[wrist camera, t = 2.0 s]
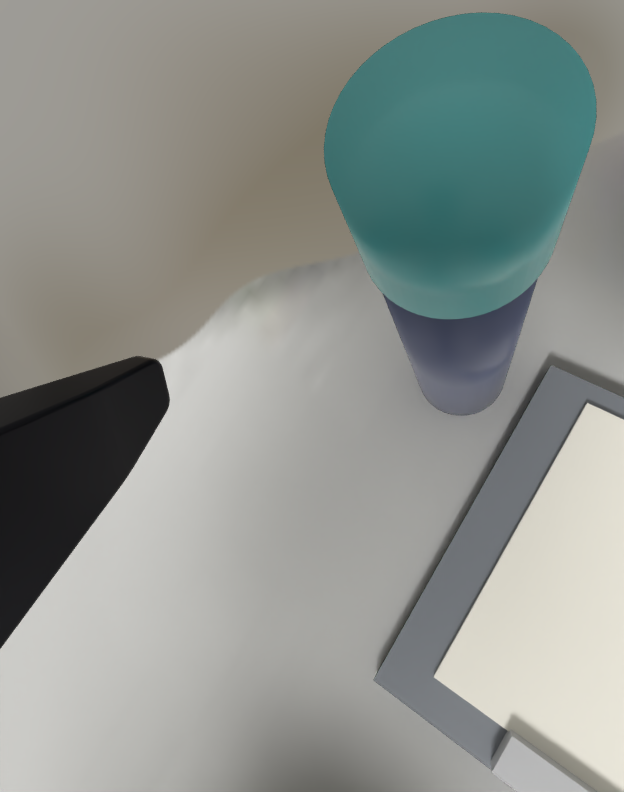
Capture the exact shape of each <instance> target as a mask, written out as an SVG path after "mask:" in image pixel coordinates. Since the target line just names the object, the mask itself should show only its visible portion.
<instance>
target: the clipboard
mask: <svg viewBox="0 0 624 792" xmlns="http://www.w3.org/2000/svg"><path fill="white" fill-rule="evenodd" d="M374 681H375V682H376V683H378V684H379V685H380V686H382V687H383V688H384V689H386V690H387V691H388V692H389V693H391V694H392V695H393V696H395V697H396V698H397V699H399V700H400V701H401V702H403V703H404V704H405V705H407V706H408V707H409V708H410V709H412V710H413V711H414V712H416V713H417V714H418V715H420V716H421V717H422V718H424V719H425V720H426V721H428V722H429V723H430V724H431V725H433V726H434V727H435V728H437V729H438V730H439V731H441V732H442V733H443V734H445V735H446V736H447V737H449V738H450V739H451V740H453V741H454V742H455V743H456V744H458V745H459V746H460V747H462V748H463V749H464V750H466V751H467V752H468V753H470V754H471V755H472V756H474V757H475V758H476V759H477V760H479V761H480V762H481V763H483V764H484V765H485V766H487V767H488V768H489V769H491V771H492V773H493V774H494V775H495V776H497V777H498V778H499V779H500V780H502V781H503V782H504V783H506V784H507V785H508V786H510V787H511V788H512V789H514V790H515V791H516V792H624V397H621V396H619V395H617V394H615V393H612V392H610V391H608V390H606V389H604V388H601V387H599V386H597V385H595V384H592V383H590V382H588V381H586V380H584V379H581V378H579V377H577V376H575V375H572V374H570V373H568V372H566V371H564V370H561V369H559V368H557V367H555V366H552V365H551V366H550V368H549V369H548V371H547V373H546V375H545V376H544V378H543V380H542V382H541V383H540V385H539V387H538V389H537V391H536V392H535V394H534V396H533V398H532V399H531V401H530V403H529V405H528V407H527V408H526V410H525V412H524V414H523V415H522V417H521V419H520V421H519V422H518V424H517V426H516V428H515V430H514V431H513V433H512V435H511V437H510V438H509V440H508V442H507V444H506V446H505V447H504V449H503V451H502V453H501V454H500V456H499V458H498V460H497V461H496V463H495V465H494V467H493V469H492V470H491V472H490V474H489V476H488V477H487V479H486V481H485V483H484V485H483V486H482V488H481V490H480V492H479V493H478V495H477V497H476V499H475V500H474V502H473V504H472V506H471V508H470V509H469V511H468V513H467V515H466V516H465V518H464V520H463V522H462V524H461V525H460V527H459V529H458V531H457V532H456V534H455V536H454V538H453V540H452V541H451V543H450V545H449V547H448V548H447V550H446V552H445V554H444V555H443V557H442V559H441V561H440V563H439V564H438V566H437V568H436V570H435V571H434V573H433V575H432V577H431V579H430V580H429V582H428V584H427V586H426V587H425V589H424V591H423V593H422V594H421V596H420V598H419V600H418V602H417V603H416V605H415V607H414V609H413V610H412V612H411V614H410V616H409V618H408V619H407V621H406V623H405V625H404V626H403V628H402V630H401V632H400V634H399V635H398V637H397V639H396V641H395V642H394V644H393V646H392V648H391V649H390V651H389V653H388V655H387V657H386V658H385V660H384V662H383V664H382V665H381V667H380V669H379V671H378V673H377V674H376V676H375V678H374Z"/></svg>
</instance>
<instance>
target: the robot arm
mask: <svg viewBox="0 0 624 792" xmlns="http://www.w3.org/2000/svg"><path fill="white" fill-rule="evenodd" d="M169 402H170V397H169V392H168V388H167V384H166V380H165V376H164V372H163V368H162V365H161V364H160V362H159V361H158V360H156V359H152V358H147V357H142V356H135V357H131V358H128V359H125V360H122V361H118V362H115V363H112V364H108V365H105V366H102V367H99V368H96V369H92V370H89V371H86V372H83V373H79V374H76V375H73V376H70V377H66V378H63V379H60V380H57V381H53V382H50V383H47V384H44V385H40V386H37V387H34V388H31V389H27V390H24V391H21V392H18V393H15V394H11V395H8V396H5V397H2V398H0V649H1V647H2V646H3V645H4V643H5V642H6V641H7V639H8V638H9V636H10V635H11V634H12V632H13V631H14V630H15V628H16V627H17V626H18V624H19V623H20V622H21V620H22V619H23V618H24V616H25V615H26V614H27V612H28V611H29V609H30V608H31V607H32V605H33V604H34V603H35V601H36V600H37V599H38V597H39V596H40V595H41V593H42V592H43V591H44V589H45V588H46V586H47V585H48V584H49V582H50V581H51V580H52V578H53V577H54V576H55V574H56V573H57V572H58V570H59V569H60V568H61V566H62V565H63V564H64V562H65V561H66V559H67V558H68V557H69V555H70V554H71V553H72V551H73V550H74V549H75V547H76V546H77V545H78V543H79V542H80V541H81V539H82V538H83V536H84V535H85V534H86V532H87V531H88V530H89V528H90V527H91V526H92V524H93V523H94V522H95V520H96V519H97V518H98V516H99V515H100V514H101V512H102V511H103V509H104V508H105V507H106V505H107V504H108V503H109V501H110V500H111V499H112V497H113V496H114V495H115V493H116V492H117V491H118V489H119V488H120V486H121V485H122V484H123V482H124V481H125V479H126V478H127V477H128V475H129V473H130V472H131V470H132V469H133V467H134V465H135V464H136V462H137V460H138V459H139V457H140V455H141V454H142V452H143V450H144V449H145V447H146V445H147V444H148V442H149V440H150V439H151V437H152V435H153V434H154V432H155V430H156V429H157V427H158V425H159V423H160V422H161V420H162V418H163V417H164V415H165V413H166V412H167V410H168V407H169Z"/></svg>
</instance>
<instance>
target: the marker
mask: <svg viewBox="0 0 624 792" xmlns="http://www.w3.org/2000/svg"><path fill="white" fill-rule="evenodd" d="M595 123H596V96H595V91H594V86H593V82H592V80H591V77H590V74H589V72H588V69H587V68H586V66H585V64H584V63H583V61H582V59H581V58H580V56H579V55H578V54H577V52H576V51H575V50H574V49H573V48H572V47H571V45H570V44H569V43H567V42H566V41H565V40H564V39H563V38H561V37H560V36H559V35H558V34H556V33H554V32H553V31H551V30H550V29H548V28H546V27H545V26H543V25H540V24H538V23H536V22H533V21H531V20H528V19H524V18H521V17H517V16H513V15H507V14H500V13H468V14H460V15H455V16H449V17H445V18H441V19H438V20H434V21H431V22H428V23H426V24H423V25H421V26H418V27H416V28H413V29H411V30H410V31H408V32H406V33H404V34H402V35H400V36H398V37H397V38H395V39H394V40H392V41H390V42H389V43H387V44H386V45H384V46H383V47H382V48H381V49H379V50H378V51H377V52H375V53H374V54H373V55H372V56H371V57H370V58H369V59H368V60H367V61H366V62H364V63H363V64H362V65H361V66H360V67H359V69H358V70H357V71H356V72H355V73H354V75H353V76H352V77H351V78H350V79H349V81H348V82H347V84H346V85H345V87H344V88H343V90H342V91H341V93H340V95H339V97H338V99H337V101H336V103H335V105H334V107H333V109H332V112H331V115H330V118H329V120H328V125H327V129H326V133H325V142H324V159H325V167H326V172H327V176H328V179H329V182H330V185H331V187H332V190H333V192H334V195H335V197H336V199H337V202H338V204H339V206H340V208H341V210H342V213H343V216H344V218H345V220H346V222H347V225H348V227H349V229H350V232H351V234H352V236H353V239H354V241H355V243H356V246H357V248H358V250H359V253H360V255H361V257H362V260H363V262H364V264H365V267H366V269H367V271H368V273H369V275H370V277H371V279H372V281H373V282H374V283H375V285H376V286H377V287H378V289H379V290H380V291H381V292H382V293H383V295H384V298H385V300H386V303H387V305H388V308H389V310H390V313H391V315H392V318H393V320H394V323H395V325H396V328H397V330H398V333H399V335H400V338H401V340H402V343H403V345H404V348H405V350H406V353H407V355H408V357H409V360H410V362H411V365H412V367H413V370H414V372H415V375H416V377H417V380H418V382H419V385H420V387H421V390H422V392H423V394H424V396H425V397H426V399H427V400H428V401H429V402H430V403H431V404H432V405H433V406H434V407H436V408H437V409H439V410H441V411H443V412H445V413H448V414H452V415H470V414H474V413H477V412H480V411H482V410H484V409H485V408H487V407H488V406H490V405H491V404H492V403H493V402H494V401H495V400H496V399H497V397H498V396H499V394H500V392H501V390H502V388H503V385H504V382H505V379H506V376H507V372H508V369H509V366H510V363H511V360H512V357H513V354H514V351H515V347H516V344H517V341H518V338H519V335H520V332H521V329H522V326H523V322H524V319H525V316H526V313H527V310H528V307H529V304H530V301H531V297H532V294H533V291H534V288H535V285H536V282H537V279H538V277H539V276H540V275H541V273H542V272H543V270H544V268H545V267H546V265H547V264H548V262H549V260H550V258H551V255H552V253H553V251H554V248H555V245H556V242H557V239H558V236H559V234H560V231H561V228H562V225H563V222H564V219H565V216H566V214H567V211H568V208H569V205H570V202H571V199H572V196H573V193H574V191H575V188H576V185H577V182H578V179H579V176H580V173H581V170H582V168H583V165H584V162H585V159H586V156H587V153H588V150H589V147H590V144H591V141H592V138H593V134H594V129H595Z"/></svg>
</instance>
